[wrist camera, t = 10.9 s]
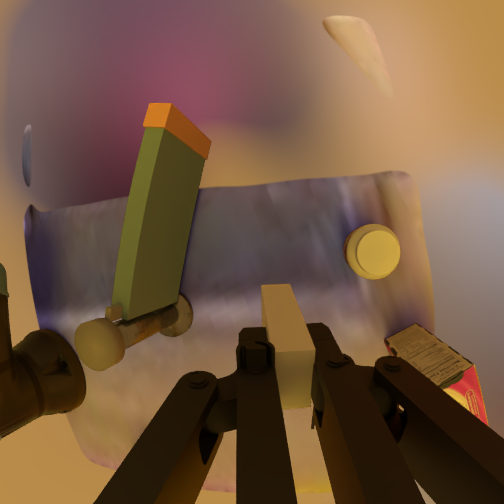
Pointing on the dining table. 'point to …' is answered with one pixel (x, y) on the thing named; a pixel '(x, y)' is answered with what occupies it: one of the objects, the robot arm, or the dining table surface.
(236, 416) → the robot arm
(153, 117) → the barrier arm
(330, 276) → the dining table surface
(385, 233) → the pill bottle
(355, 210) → the dining table surface
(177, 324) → the hinge post
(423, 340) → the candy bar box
